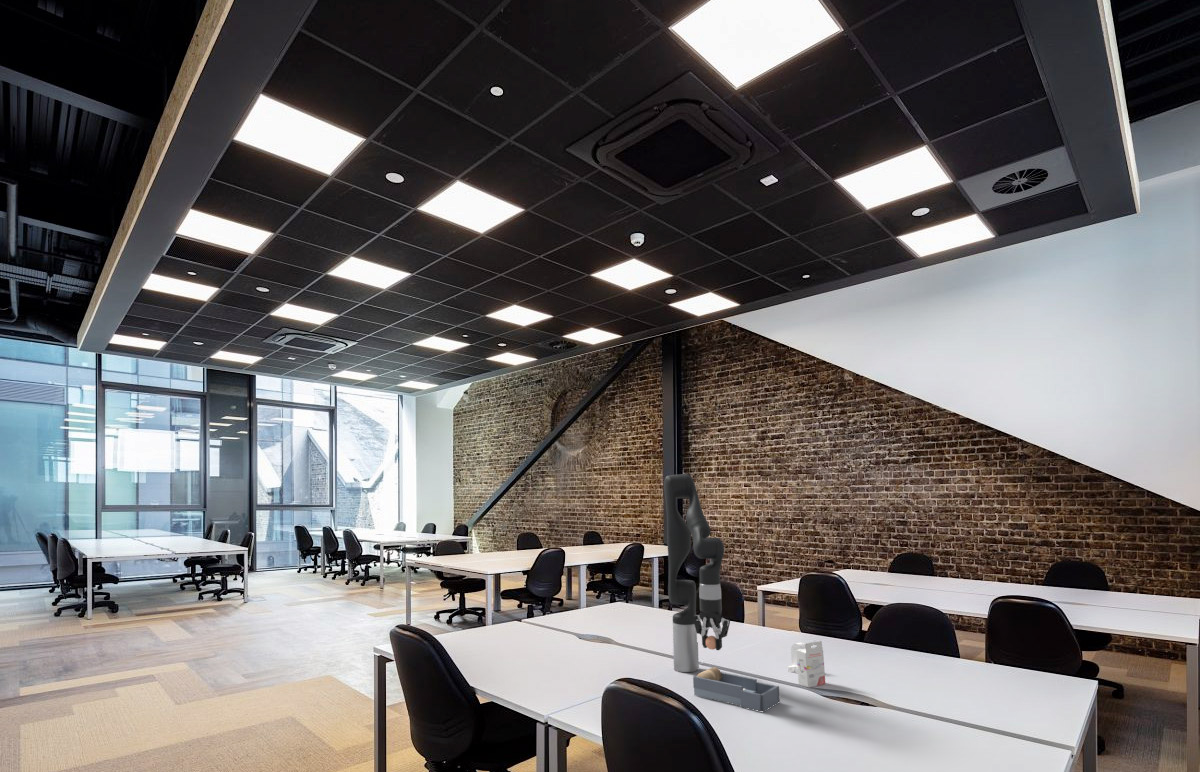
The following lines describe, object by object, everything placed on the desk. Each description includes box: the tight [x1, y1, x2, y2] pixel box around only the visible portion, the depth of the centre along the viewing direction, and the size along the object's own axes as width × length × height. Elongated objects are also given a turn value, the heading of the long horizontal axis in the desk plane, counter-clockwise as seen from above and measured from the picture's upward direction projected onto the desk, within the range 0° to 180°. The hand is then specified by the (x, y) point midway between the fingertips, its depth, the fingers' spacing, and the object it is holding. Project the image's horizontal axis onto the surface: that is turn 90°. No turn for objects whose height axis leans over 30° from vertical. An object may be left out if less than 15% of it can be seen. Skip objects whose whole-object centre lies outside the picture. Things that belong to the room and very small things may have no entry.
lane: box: [692, 671, 781, 712], centre depth 209 cm, size 12×26×6 cm, turn 50°
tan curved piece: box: [696, 666, 722, 681], centre depth 215 cm, size 9×5×5 cm, turn 140°
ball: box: [705, 635, 717, 650], centre depth 216 cm, size 4×4×4 cm
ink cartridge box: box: [796, 640, 826, 689], centre depth 225 cm, size 9×5×15 cm, turn 117°
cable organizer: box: [787, 642, 806, 675], centre depth 241 cm, size 5×10×10 cm, turn 132°
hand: (712, 648), depth 216 cm, fingers closed on ball, 4 cm apart
